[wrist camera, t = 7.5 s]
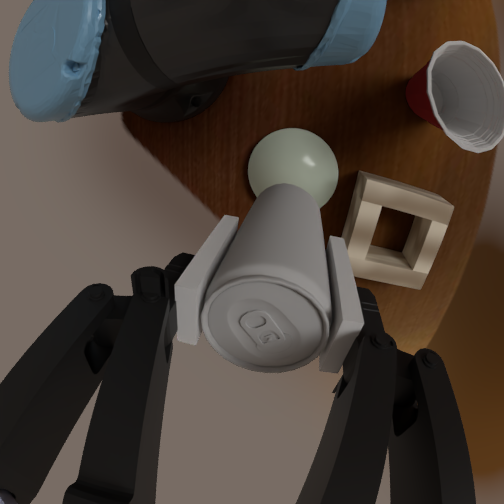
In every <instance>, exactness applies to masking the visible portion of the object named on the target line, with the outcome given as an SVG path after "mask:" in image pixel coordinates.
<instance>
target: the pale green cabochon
mask: <svg viewBox="0 0 504 504" xmlns="http://www.w3.org/2000/svg"><path fill="white" fill-rule="evenodd" d="M248 178H249V182H250V185H251V188H252V190H253V192H254V194H255V195H256V197H258V196H259V195H260V193H261V192H263V191H264V190H265V189H266V188H268V187H270V186H273V185H275V184H282V183H286V184H292V185H295V186H297V187H300V188H302V189H303V190H305V191H306V192H308V193H309V194H310V195H311V196H312V197H313V198H314V199H315V200H316V202H317V204H318V207H319V208H321V207H322V206H323V205H324V204H325V203H327V201H328V200H329V199H330V198H331V196H332V195H333V193H334V191H335V189H336V185H337V182H338V165H337V161H336V158H335V156H334V154H333V152H332V150H331V149H330V147H329V146H328V145H327V143H326V142H325V141H324V140H323V139H321V138H320V137H319V136H317V135H315V134H314V133H312V132H309V131H307V130H303V129H298V128H286V129H281V130H278V131H275V132H273V133H271V134H269V135H268V136H266V137H265V138H263V139H262V140H261V141H260V142H259V143H258V144H257V146H256V147H255V148H254V150H253V152H252V154H251V157H250V160H249V164H248Z"/></svg>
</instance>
